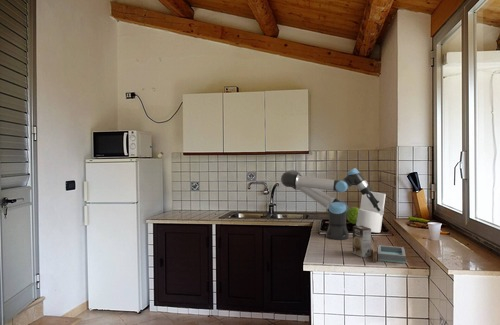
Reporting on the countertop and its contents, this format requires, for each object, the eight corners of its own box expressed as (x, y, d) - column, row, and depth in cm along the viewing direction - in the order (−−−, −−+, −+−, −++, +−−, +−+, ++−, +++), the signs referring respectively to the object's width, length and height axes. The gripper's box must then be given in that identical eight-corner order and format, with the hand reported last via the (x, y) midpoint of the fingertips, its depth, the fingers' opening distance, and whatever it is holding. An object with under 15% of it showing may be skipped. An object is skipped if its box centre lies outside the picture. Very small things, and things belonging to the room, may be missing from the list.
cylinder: (363, 226, 270) (368, 190, 270) (384, 232, 257) (390, 194, 257) (351, 227, 258) (356, 189, 258) (373, 232, 245) (379, 193, 245)
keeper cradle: (377, 260, 192) (377, 253, 192) (378, 251, 208) (378, 245, 208) (405, 263, 187) (405, 256, 187) (403, 254, 203) (404, 247, 203)
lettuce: (379, 227, 273) (381, 210, 275) (347, 222, 277) (349, 205, 279) (375, 227, 288) (377, 210, 290) (345, 222, 292) (346, 206, 294)
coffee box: (352, 253, 206) (352, 225, 206) (361, 251, 209) (361, 225, 208) (362, 257, 198) (362, 229, 197) (371, 256, 200) (371, 228, 199)
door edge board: (372, 262, 190) (372, 251, 190) (373, 249, 212) (374, 240, 212) (376, 262, 189) (376, 251, 189) (377, 250, 211) (377, 240, 211)
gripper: (367, 186, 235) (387, 213, 231) (369, 183, 259) (387, 207, 255) (358, 192, 238) (377, 219, 234) (360, 188, 261) (378, 212, 257)
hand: (382, 213), depth 244 cm, fingers open, 13 cm apart
